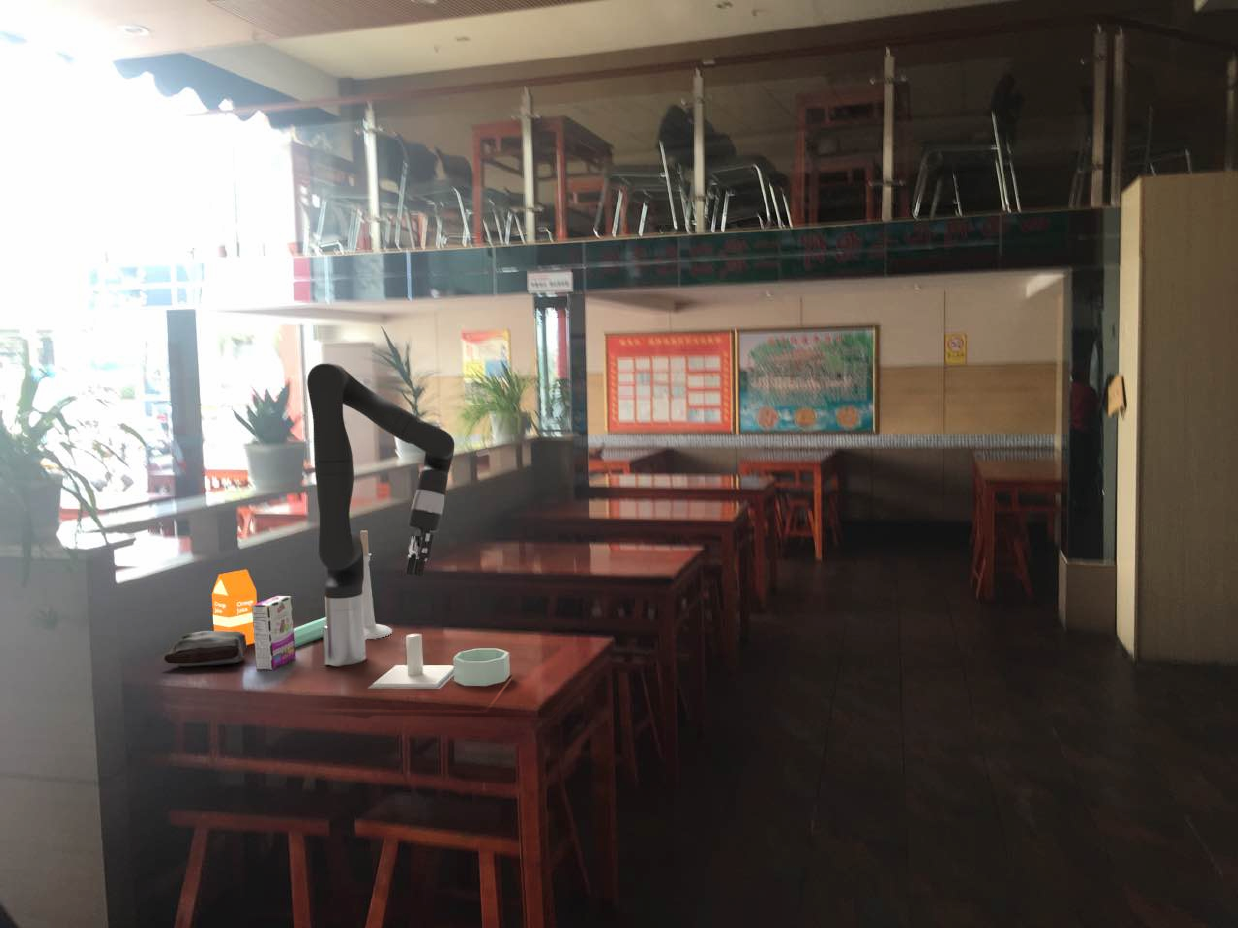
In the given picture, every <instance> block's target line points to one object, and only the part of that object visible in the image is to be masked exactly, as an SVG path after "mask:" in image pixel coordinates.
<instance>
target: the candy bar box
mask: <svg viewBox="0 0 1238 928" xmlns="http://www.w3.org/2000/svg"><path fill="white" fill-rule="evenodd" d="M292 601H293V600H292V596H290V595H276V596H273V597H270V598H267V599H265V600H263V601H261V602H257V604H255V605H253V606H252V616H253V629H254V643H253V644H254V654H255V655H254V656H255V669H256V670H259V671H270V670H271V671H274V670H275V669H278V668H279V667H282V666H283V665H285V664H287V663H289V662H291V661H292V660H295V659H296V658H297V656H296V647H295V641H294V628H295V627H294V616H293V615H294V614H293V602H292Z"/></svg>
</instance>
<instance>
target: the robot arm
mask: <svg viewBox="0 0 1238 928" xmlns="http://www.w3.org/2000/svg"><path fill="white" fill-rule="evenodd" d="M306 381H307V382H306V383H307V384H306V385H307V391H308V396H309V401H310V407H311V408H310V409H311V413H312V419H313V420H312V421H313V451H314V453H313V455H314V474H315V482H316V494H317V503H318V510H319V513H318V514H319V534H318V535H319V536H318V555H319V559H320V561H321V563H322V564H323V566H325V568H327V570H326V571H327V572H326V573H327V574H326V581H325V584H324V588H323V589H324V592H323V593H324V594H323V595H324V604H325V605H324V607H325V617H326V626H325V627H324V628H323V636H324V637H323V653H324V654H323V655H324V665H325V666H327V665H329V666H332V667H341V666H344V665H345V666H346V665H354V664H357V663H358V664H359V663H361V662H363V661H365V660H366V659H367V658H366V654H367V652H366V640H365V633H364V613H363V594H362V586H363V580H364V557H363V546H362V542H361V537H359V536H358V534H356V533H355V532H353V531H352V530H351V529H352V527H351V520H350V519H351V517H350V516H351V515H350V511H351V510H350V509H351V502H352V498H353V497H352V496H353V491H354V483H355V468H354V458H353V457H354V455H353V451H352V447H351V446H352V445H351V442H350V439H349V435H348V432H347V428H346V424H345V420H344V405H345V406H347V407H350V408H351V409H353V410H355V411H357V412H359V413H360V414H362V415H363V416H364V417H366V418H367V419H369V420H370V421H371V422H373V423H374V424H375V425H377V426H378V427H379V428H381V429H382V430H384V431H385V432H387V433H388V434H389V435H390V434H391V435H392V436H393V437H396V438H397V439H399V440H401V441H403V442H404V443H407V444H408V445H409V444H411V445H413V446H415V447H417V448H418V449H420V450H422V451H423V452H424V459H423V465H422V466H423V467H422V469H421V471H420V473H419V477H418V482H417V485H416V486H417V487H416V491H415V493H414V496H413V497H414V498H413V499H412V500H413V501H412V506H411V509H410V510H411V511H410V514H409V520H408V524H407V526H408V527H409V528H411V529H414V530H415V531H414V533H411V534H410V537H409V544H408V547H407V552H406V557H407V564H406V568H405V574H406V575H408V576H416V577H422V576H423V574H424V569H425V565H426V562H427V560H428V559H429V558H430V553H431V549H432V548H431V547H432V543H433V538H434V534H433V533H438V532H439V530H440V524H441V520H442V515H443V512H444V511H443V510H444V507H445V495H446V492H447V486H448V478H449V471H450V468H451V465H452V462H453V457H454V452H455V441H454V438H453V437H452V435H451V434H450V433H448V432H447V431H446V430H444V429H442V428H440V427H438V426H436V425H434V424H432V423H429V422H427V421H424V420H422V419H421V418H420V417H418V416H417V415H415V414H413V413H411V412H410V411H408V410H406V409H405V408H403V407H402V406H399V405H398V404H396V403H394V402H392V401H390V400H388V399H387V398H384V397H383V396H381V395H379V394H377V392H374V391H373V390H371V389H369V388H368V387H367V386H365V385H364V384H362V383H361V382H360V381H359V380H358V379H356V378H355V377H354V376H353V375H351V374H350V372H349V371H347V370H346V369H345V368H344V367H343V366H341V365H339V364H338V363H332V362H331V363H330V362H322V363H318V364H316V365H315V366H313V367H312V369H310V371H309V372H308V375H307V380H306ZM431 532H433V533H431Z"/></svg>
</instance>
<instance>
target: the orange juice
mask: <svg viewBox="0 0 1238 928" xmlns="http://www.w3.org/2000/svg"><path fill="white" fill-rule="evenodd" d="M211 602H212V603H211V604H212V621H213V622H212V625H213V631H238V632H241V633H243V634H245V638H246V646H248V645H251V644H255V643H254V629H253V616H252V606H253V605H255V604H258V600H257V589H256V587H255V585H254V583H253V580H252V579H251V576H250V573H249V571H248V570H247V569H241V570H237V571H231V572H225V573H221V574H218V576H217V579H216V581H215V585H214V587H213V590H212V593H211Z"/></svg>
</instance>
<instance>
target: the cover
mask: <svg viewBox="0 0 1238 928" xmlns="http://www.w3.org/2000/svg"><path fill="white" fill-rule="evenodd" d="M405 641H406V643H405V644H406V664H401V665H399V664H395V665H394V666H393V667H392V668H391V669H389V670H388V671H387V672H386V673H384V674H383V675H382V676H380V677H379V678H378V679H377V680H376V681H374V682H373V683H372V684H373V687H438V686H439V685H440V684H441V683H442V682H443V681H444V680H445V679H446V678H447V677H448V676H449V675H450V674H451V673H452V672H453V671H454V668H453V665H448V664H447V665H441V664H439V665H433V664H432V665H429V664H428V665H426V664H424V661H423V659H424V658H423V657H424V656H423V654H424V653H423V635H422V634H421V633H411V634H407V635H406V636H405Z"/></svg>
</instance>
